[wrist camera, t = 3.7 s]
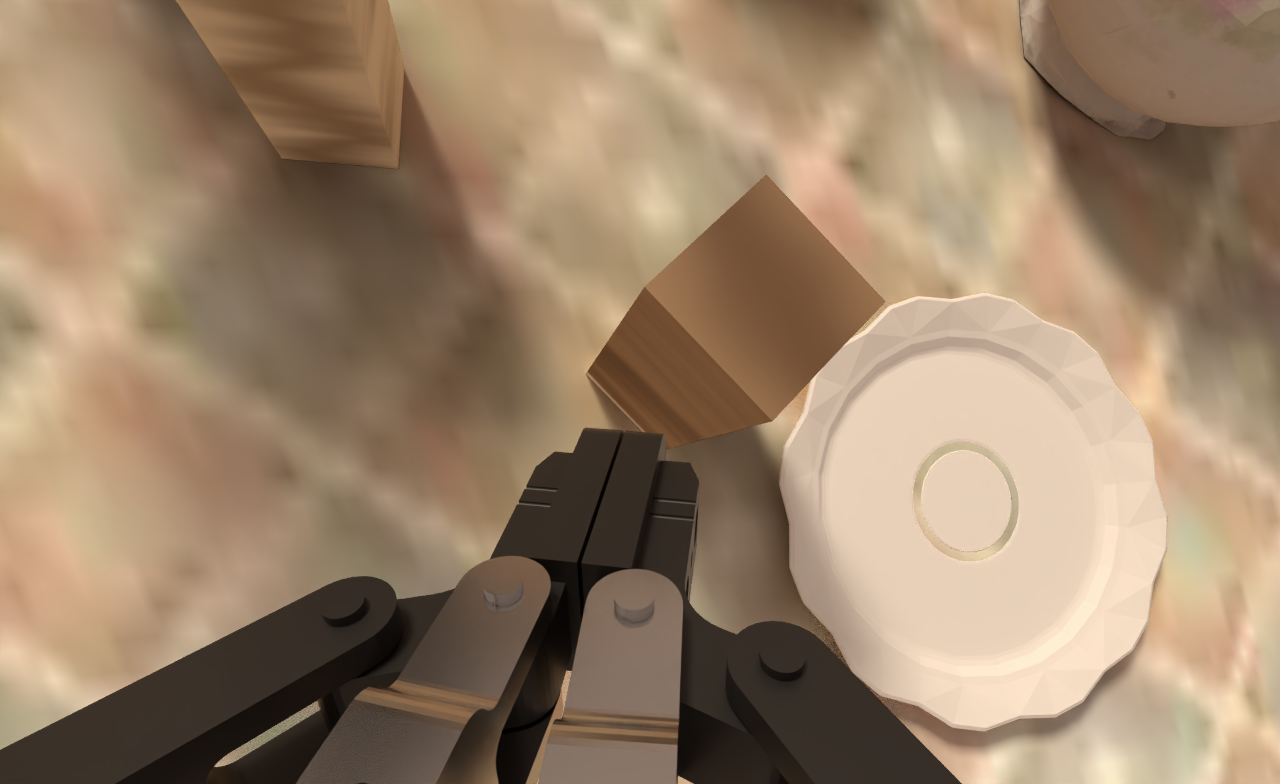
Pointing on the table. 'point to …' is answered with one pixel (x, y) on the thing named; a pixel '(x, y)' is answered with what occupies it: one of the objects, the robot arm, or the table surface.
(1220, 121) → the ceramic pitcher
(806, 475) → the plate
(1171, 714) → the table surface
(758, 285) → the walnut block
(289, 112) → the birch block
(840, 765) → the robot arm
